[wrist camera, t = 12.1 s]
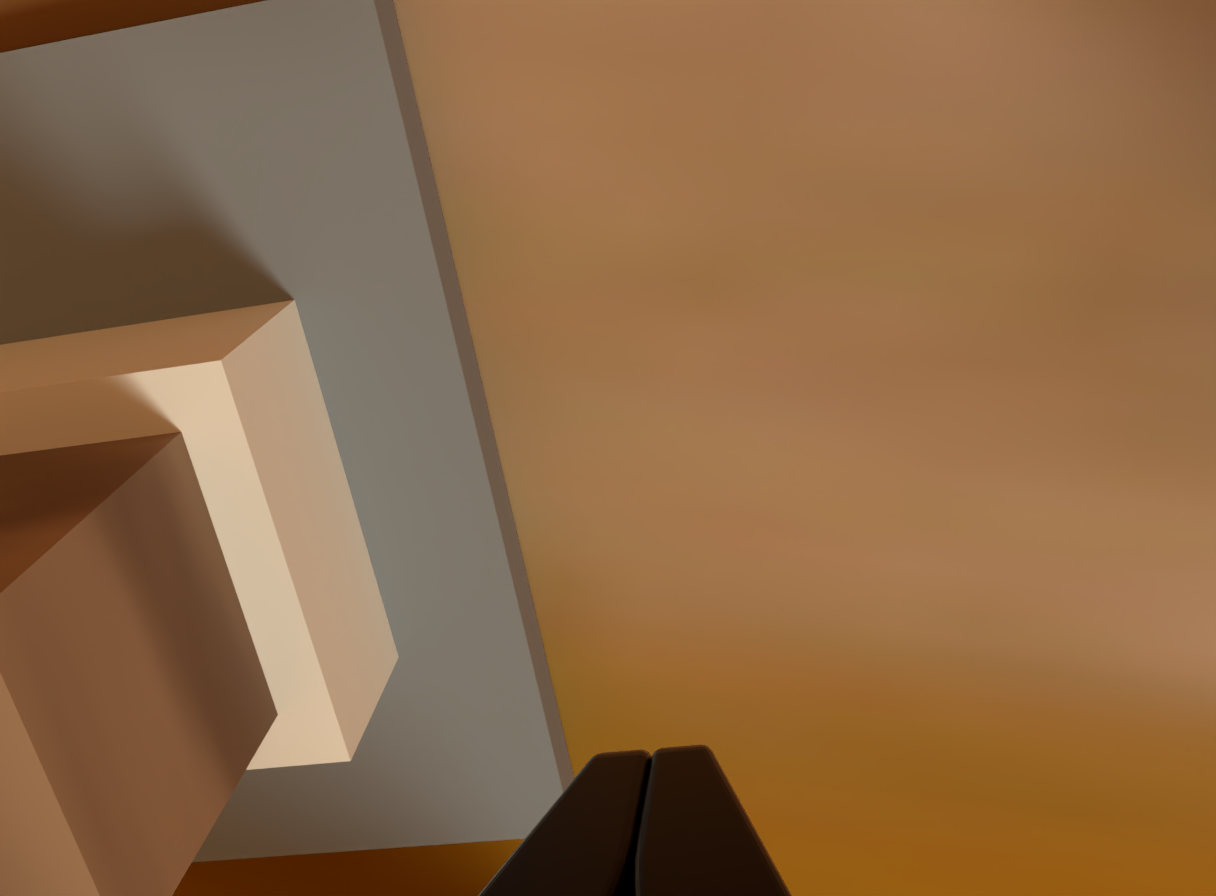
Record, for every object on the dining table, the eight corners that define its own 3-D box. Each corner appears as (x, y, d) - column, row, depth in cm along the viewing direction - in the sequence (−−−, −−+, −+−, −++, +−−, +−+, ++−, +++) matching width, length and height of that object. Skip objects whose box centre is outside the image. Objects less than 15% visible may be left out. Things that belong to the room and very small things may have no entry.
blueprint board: (387, -22, 18) (298, -14, 14) (579, 800, 24) (552, 956, 20) (-282, 109, 20) (-515, 148, 16) (54, 840, 26) (-57, 989, 22)
